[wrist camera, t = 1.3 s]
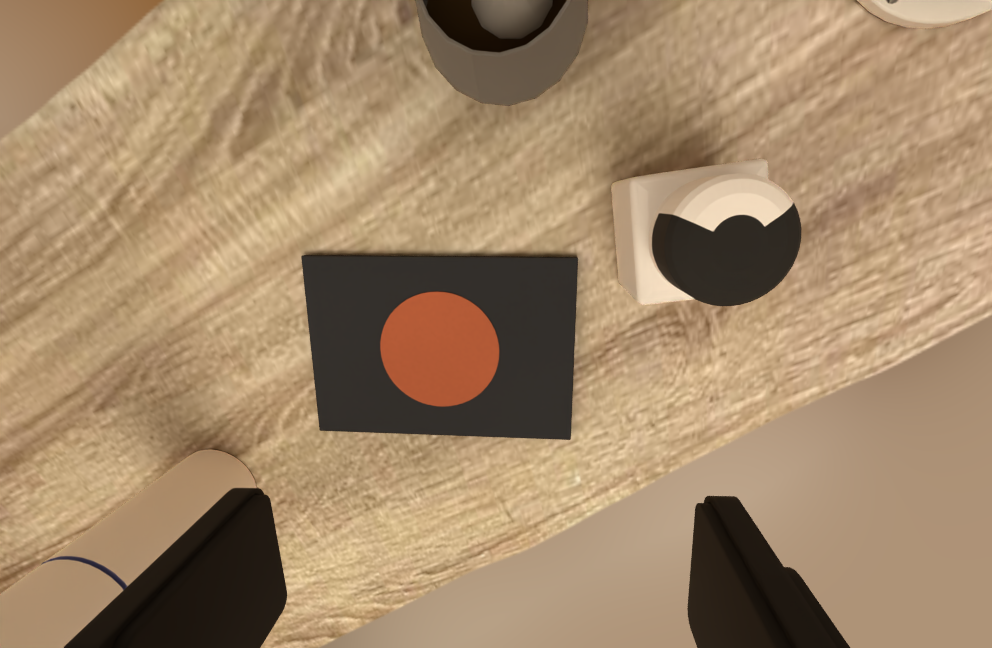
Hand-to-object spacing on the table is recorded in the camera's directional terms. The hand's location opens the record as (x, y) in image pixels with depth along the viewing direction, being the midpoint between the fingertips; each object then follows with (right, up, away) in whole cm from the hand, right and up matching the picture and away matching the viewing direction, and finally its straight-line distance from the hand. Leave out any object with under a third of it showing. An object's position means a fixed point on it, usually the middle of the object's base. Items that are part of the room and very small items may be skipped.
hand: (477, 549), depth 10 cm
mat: (-4, +3, +26) cm, 26 cm away
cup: (+1, +23, +20) cm, 31 cm away
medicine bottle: (+12, +11, +23) cm, 28 cm away
